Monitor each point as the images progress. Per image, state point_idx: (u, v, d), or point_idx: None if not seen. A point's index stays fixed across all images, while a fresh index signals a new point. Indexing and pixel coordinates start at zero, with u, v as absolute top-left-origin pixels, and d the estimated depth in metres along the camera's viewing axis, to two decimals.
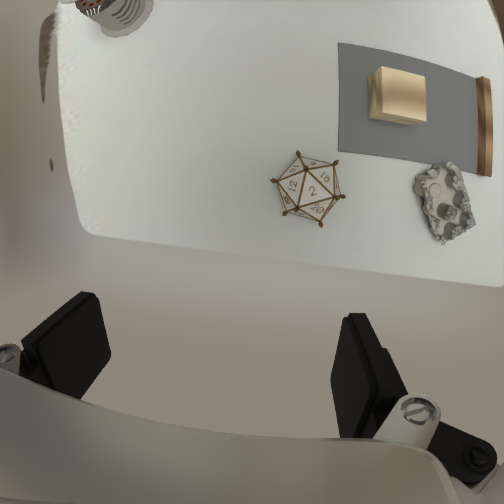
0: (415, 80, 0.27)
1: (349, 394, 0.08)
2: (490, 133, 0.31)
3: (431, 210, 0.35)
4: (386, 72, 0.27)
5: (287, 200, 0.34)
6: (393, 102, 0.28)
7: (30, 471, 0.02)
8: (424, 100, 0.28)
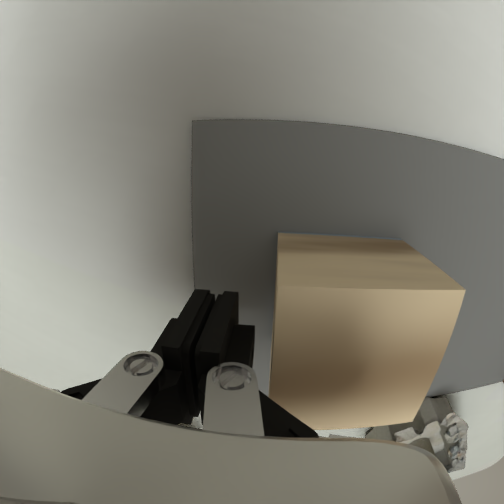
0: (423, 316, 0.08)
1: None
2: None
3: None
4: (298, 310, 0.08)
5: None
6: (310, 404, 0.09)
7: (30, 471, 0.02)
8: (431, 374, 0.08)
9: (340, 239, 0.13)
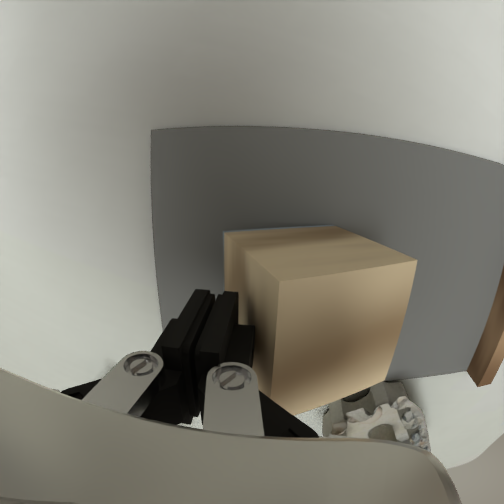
0: (389, 287, 0.10)
1: None
2: None
3: None
4: (297, 301, 0.09)
5: None
6: (305, 387, 0.10)
7: (30, 471, 0.02)
8: (396, 334, 0.11)
9: (285, 231, 0.14)
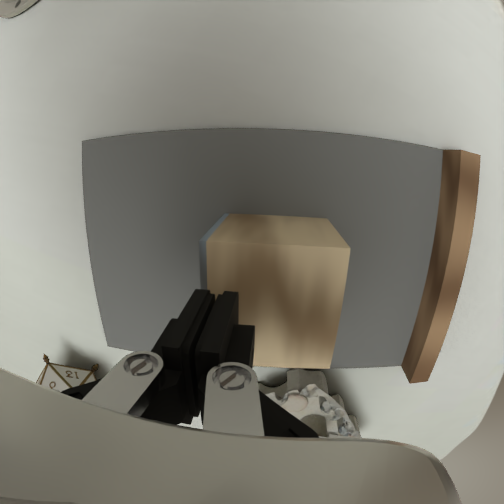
0: None
1: None
2: (451, 299, 0.16)
3: None
4: None
5: None
6: None
7: (30, 471, 0.02)
8: None
9: (230, 226, 0.14)
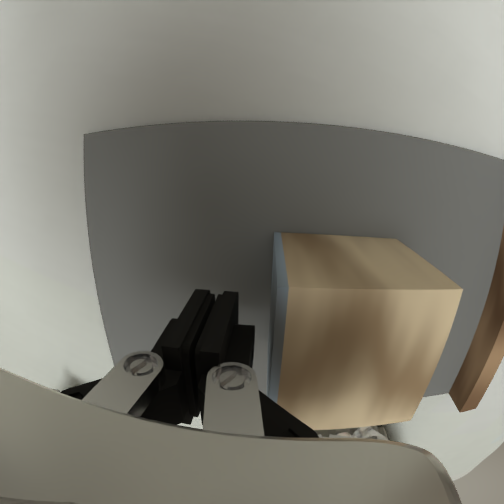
0: None
1: None
2: None
3: None
4: None
5: None
6: None
7: (30, 471, 0.02)
8: None
9: (300, 255, 0.10)
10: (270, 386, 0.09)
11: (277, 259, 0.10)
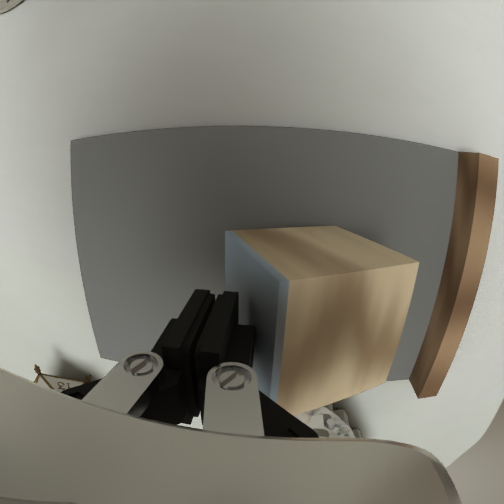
0: None
1: None
2: (464, 312, 0.14)
3: None
4: None
5: None
6: None
7: (30, 471, 0.02)
8: None
9: (270, 250, 0.11)
10: (272, 379, 0.09)
11: (254, 256, 0.10)
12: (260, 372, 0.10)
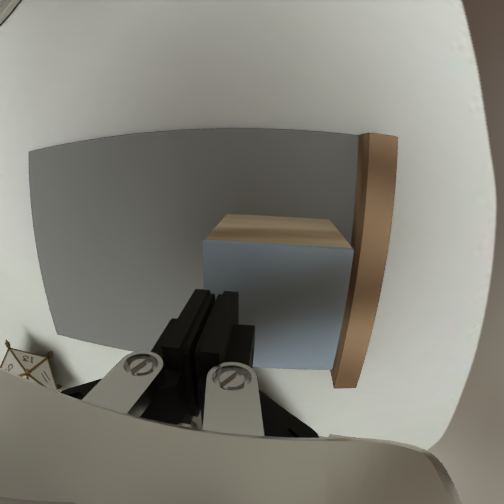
0: None
1: None
2: (370, 300, 0.16)
3: None
4: None
5: None
6: None
7: (30, 471, 0.02)
8: None
9: (285, 240, 0.12)
10: (340, 327, 0.12)
11: (300, 246, 0.12)
12: (318, 336, 0.13)
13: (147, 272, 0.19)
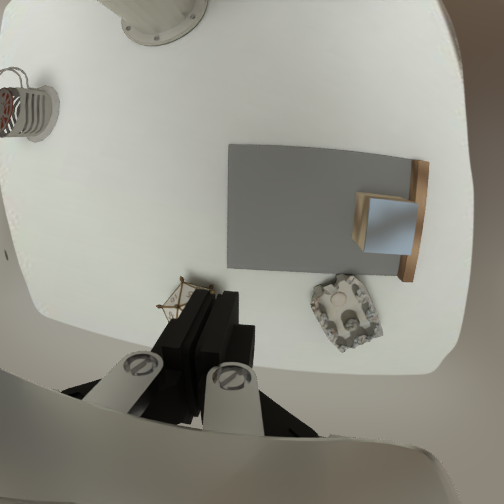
0: None
1: None
2: (418, 232, 0.34)
3: (325, 325, 0.38)
4: None
5: None
6: None
7: (30, 471, 0.02)
8: None
9: (395, 200, 0.30)
10: None
11: (401, 201, 0.29)
12: (406, 238, 0.30)
13: (312, 220, 0.37)
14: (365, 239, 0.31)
